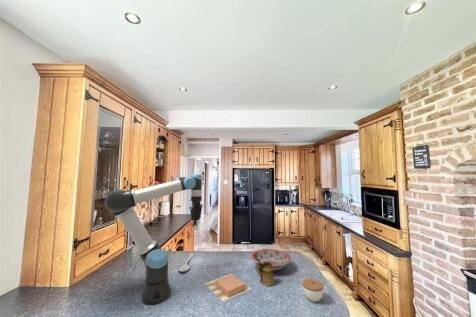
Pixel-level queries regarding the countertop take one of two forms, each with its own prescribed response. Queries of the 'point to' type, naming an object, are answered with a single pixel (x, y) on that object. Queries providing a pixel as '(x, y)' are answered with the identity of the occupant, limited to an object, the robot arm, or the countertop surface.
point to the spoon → (186, 264)
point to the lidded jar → (312, 289)
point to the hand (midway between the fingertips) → (196, 229)
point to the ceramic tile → (230, 285)
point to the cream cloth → (219, 293)
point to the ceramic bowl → (272, 258)
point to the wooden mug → (265, 273)
